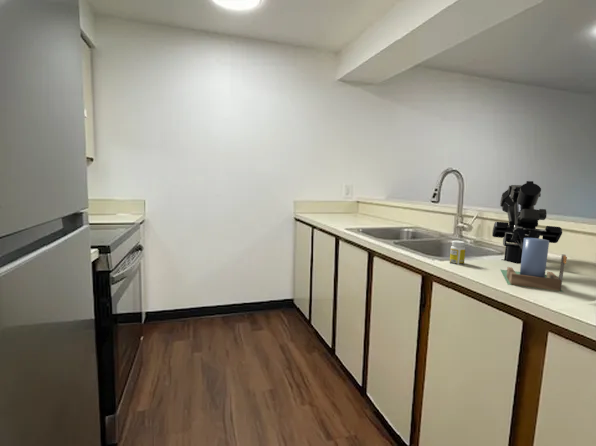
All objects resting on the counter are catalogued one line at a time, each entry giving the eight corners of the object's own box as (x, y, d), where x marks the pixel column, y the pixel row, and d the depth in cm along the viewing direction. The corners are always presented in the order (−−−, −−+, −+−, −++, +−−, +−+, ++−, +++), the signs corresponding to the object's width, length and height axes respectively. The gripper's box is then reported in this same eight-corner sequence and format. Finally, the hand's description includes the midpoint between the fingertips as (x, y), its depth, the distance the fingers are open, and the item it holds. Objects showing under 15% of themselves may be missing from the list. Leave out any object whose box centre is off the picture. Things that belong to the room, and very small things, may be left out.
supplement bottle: (462, 263, 125) (464, 240, 124) (465, 266, 120) (467, 243, 119) (448, 262, 126) (450, 239, 125) (450, 265, 121) (452, 242, 120)
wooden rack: (506, 276, 107) (510, 244, 106) (552, 282, 102) (556, 249, 101) (511, 286, 96) (515, 251, 95) (563, 293, 92) (568, 256, 90)
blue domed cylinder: (514, 281, 102) (518, 238, 100) (528, 279, 104) (533, 237, 102) (533, 287, 96) (539, 241, 94) (548, 285, 98) (554, 241, 96)
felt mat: (500, 271, 116) (500, 269, 115) (546, 276, 110) (546, 274, 110) (507, 286, 98) (507, 284, 98) (563, 294, 93) (563, 291, 93)
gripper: (497, 197, 116) (497, 235, 107) (565, 201, 108) (571, 242, 100) (492, 218, 124) (491, 254, 116) (554, 223, 117) (559, 262, 108)
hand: (526, 253), depth 110 cm, fingers closed
